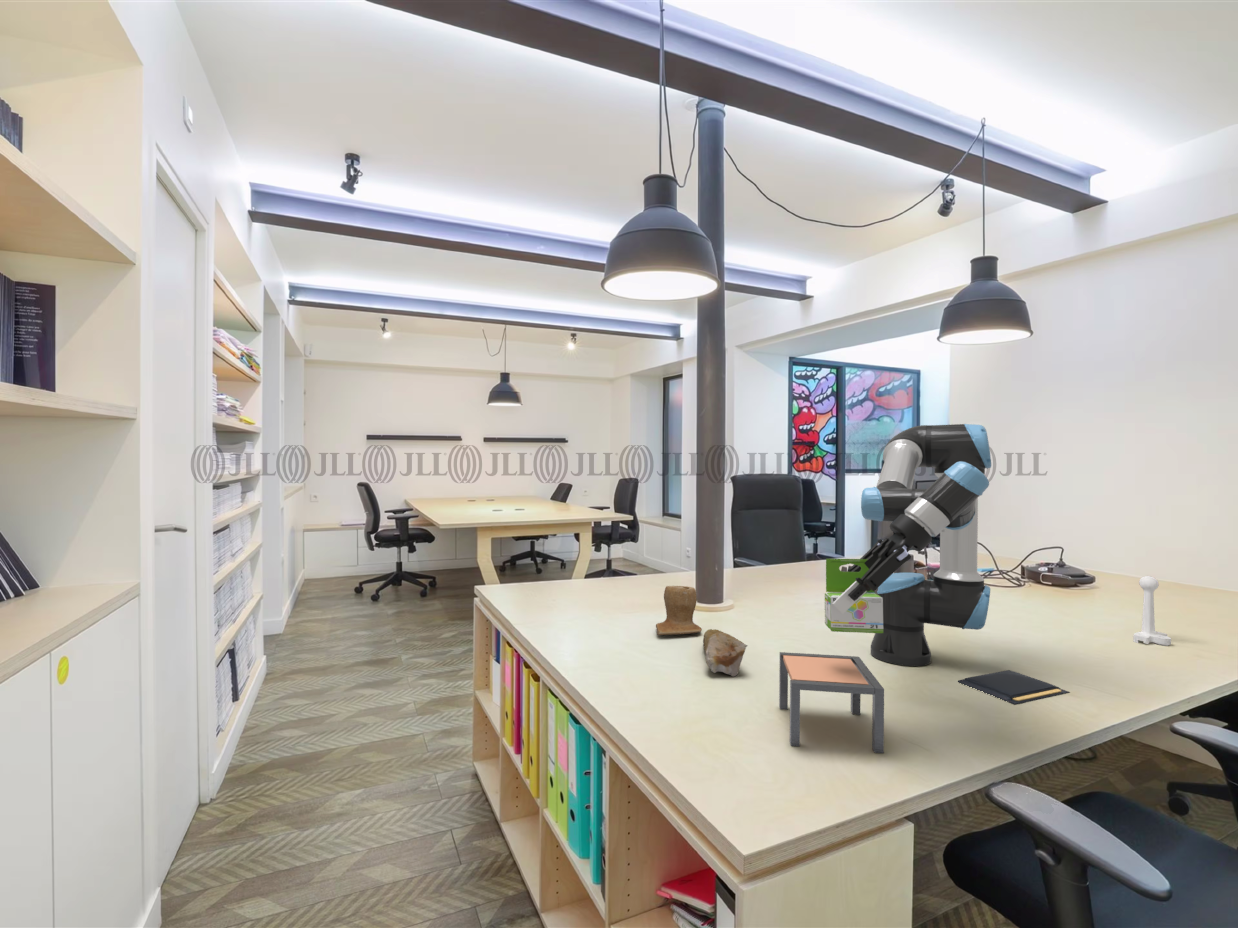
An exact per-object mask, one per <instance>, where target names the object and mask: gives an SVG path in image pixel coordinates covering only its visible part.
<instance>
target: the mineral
mask: <svg viewBox="0 0 1238 928" xmlns="http://www.w3.org/2000/svg"><path fill="white" fill-rule="evenodd" d="M702 646H703V650H704V651H705V652H704V653H705V661H706V664H707V666H708V668H709V669H710V671H711V672H712V673H714V674H715V673H718V672H720V673H724V674H726V675H730V676H731V677H736V676H737V675H738V674H739V671H740V670H739V669H740V667H741V663H742V661H743V659H744V655H745V651H746V649H747V647H748V646H749V645H747V644H745V643H744V642H743V641H741V640H739V639H738V638H736V637H734V636H732V635H731V634H729V633H726V632H723V631H721V630H719V629H712V628H710V629H707V630H706V631H705V632H704V633H703V639H702Z"/></svg>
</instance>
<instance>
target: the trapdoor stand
mask: <svg viewBox="0 0 1238 928" xmlns="http://www.w3.org/2000/svg"><path fill="white" fill-rule="evenodd" d="M783 655H787V656H804V657H822V658H839V659H851V661H852V662H853V663H854V665H855V666H856V667H857V669H858V670H859V672H860V673H861V674H862V676H863V677H864V678H865V680H866V681H867V682H868V684H869V685H862V684H847V683H831V682H815V681H799V680H791V679H790V681H789V674H788V671H787V669H786V666H785V663H784V661H783ZM778 670H779V673H778V674H779V677H778V678H779V681H778V683H779V686H778V689H779V691H778V698H779V699H778V706H779V710H785V711H788V708H789V744H790V746H791V747H800V740H801V739H800V735H801V734H800V732H801V725H800V724H801V691H811V692H812V691H813V692H824V693H825V692H827V693H838V694H839V693H842V694H850V713H851V712H852V713H851V714H852V715H854V714H856V715H855V716H860V715H861V695H872V705H871V706H872V713H871V714H872V716H871V717H872V718H871V719H872V722H871V723H872V726H871V727H872V729H871V730H872V731H871V735H872V736H871V738H872V739H871V749H872V751H873V752H874V753H876V754H884V747H885V746H884V745H885V743H884V742H885V734H884V733H885V688H884V686H883V685H881V683H880V682H879V680H878V679H877V678H876V677H875V675H874V674H873V672H872V671H871V670H870V669H869V668H868V667H867V665H866V664H865V663H864V661H863V660H862V659H861V658H860V657H859V656H854V655H853V656H852V655H837V654H836V655H835V654H819V653H818V654H817V653H815V654H814V653H801V652H785V651H784V652H781V651H779V669H778ZM789 683H790V684H789ZM789 686H790V687H789ZM788 689H789V690H788ZM789 693H790V694H789ZM788 698H789V699H788ZM788 701H789V702H788ZM788 703H789V704H788ZM788 705H789V707H788Z"/></svg>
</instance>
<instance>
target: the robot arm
mask: <svg viewBox="0 0 1238 928" xmlns="http://www.w3.org/2000/svg"><path fill="white" fill-rule="evenodd" d="M988 438H989V437H988V432H987V429H986V427H985V426H984V425H982V424H974V423H973V424H972V423H971V424H970V423H962V424H961V423H959V424H958V423H957V424H936V425H935V424H934V425H932V424H931V425H930V424H929V425H928V424H925V425H924V424H923V425H916V426H912V427H909V428H906V429H905V430H902V431H901V432H899V433H897V434H896V435H894V436H893V437H891V439H890V440H889V441H888V442H887V443H886V444H885V447H884V450H883V451H882V459H883V462H884V463H883V465H882V469H881V472H880V474H879V477H878V481H877V483H876V485H875V486H873V487H865V488H864V489H863V490H862V491H861V497H860V499H861V500H860V508H861V515H862V517H863V518H864V519H865V520H868V521H869V520H870V521H876V522H877V521H878V522H890V524H889V528H890V530H891V532H892V533H893V534H891V536H889V537H888V538H887V537H886V538H884V539H882V538H880V539H878V540H877V541H876V543H875V544H874V545H873V546H872V547H871V548H870V549H869V550H868V551H867V552H866V553H865V554H864V555H862V557H860V558H859V559H868V560H867V561H866V562H865V563H864V564H865V565H866V566H867V567H868V568H869V570H868V571H867V572H866V573H865V574H864V575H863V577H862V578H861V579H860V578H856V579H855V580H856V581H855V582H854V583H853V584H852V585H851V586H850V587H849V588H848V589H847V590H846V591H845V592H843V593H842V594H841V595H840V596H839V597H838V598H837V599H836V600H835V601H834V602H833V603H832V604H833V605H834V606H835V607H836V608H837V609H838V610H839V611H840V612H841V613H842V614H844V613H845V612H846V611H847V610H848V609H849V608H850V607H851V606H852V605H853V604H854V603H855V602H856V601H857V600H858V599H859V598H861V597H862V596H863V595H864V594H865V593H866V592H867V591H870V590H872V591H875V592H876V594H877V595H879V596H880V597H882V598H883V633H874V635H873V638H872V641H871V644H870V655H871V656H872V657H874V658H875V659H877V660H879V661H882V662H885V663H887V664H892V665H899V666H906V667H907V666H908V667H923V666H926V665H929V664H931V663H932V653H931V650H930V646H929V643H928V640H927V637H926V635H925V624H927V625H928V624H929V625H937V626H944V627H952V628H957V629H958V628H959V629H962V630H965V629H966V630H975V631H976V630H981V629H983V628H984V627H985V625H986V620H987V617H988V610H989V607H990V605H989V604H990V598H991V597H990V596H991V587H990V586H989V585H987V584H985V578H984V577H983V576H982V575H980V573H979V572H978V529H979V526H978V523H979V521H978V517H979V516H978V515H979V513H978V512H979V499H978V498H979V497H980V496H983V494H984V492H985V491H986V490H987V489H988V488H989V487H990V481H989V479H988V478H987V476H986V470H987V469H991V468H992V458H991V451H990V450H991V448H990V444H989V443H990V442H989V439H988ZM918 468H934V475H935V477H937V479H936V480H935V482H934V481H933V483H932V484H931V485H930V486H929V487H928V488H913V484H914V480H915V475H916V469H918ZM938 535H940V536H939V540H940V541H939V542H940V543H939V569H938V570H937V571H936V572H934V573H933V580H928V579H926V577H925V575H924V574H923V573H918V572H896V571H897V570H898V569H899V568H900V567H901V566H903V564H904V563H907V562H908V561H909V560H910V559H911V558H912V555H911V554H909V551H911V549H912V550H913V551H916V552H921V551H923V550H924V549H925V548H926V547H927V546H928V545H929V544H930V543H931V542H932V541H933V540H932V539H933V538H935V537H937V536H938ZM932 537H933V538H932ZM860 571H861V567H860V566H858V565H854V564H852V566H850V567H849V568H848V569H847V572H860ZM866 590H867V591H866ZM876 590H877V591H876Z"/></svg>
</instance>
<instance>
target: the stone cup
mask: <svg viewBox="0 0 1238 928" xmlns="http://www.w3.org/2000/svg"><path fill="white" fill-rule="evenodd" d="M663 592H664V593H663V600H664V607H665V614H666V618H665V620H664V621H663V622H662V621H661V622H657V623H656V624H655V628H656V634H657V636H679V635H680V636H681V635H689V634H690V635H691V634H697V633H701V632H702V629H703V628H701V627H700V626H699V625H697V624H696V623H694V621H693V618H694V613H695V609H696V606H697V590H696V588H695V587H693V586H688V585H686V586H685V585H666V586H665V588H664V591H663Z"/></svg>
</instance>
